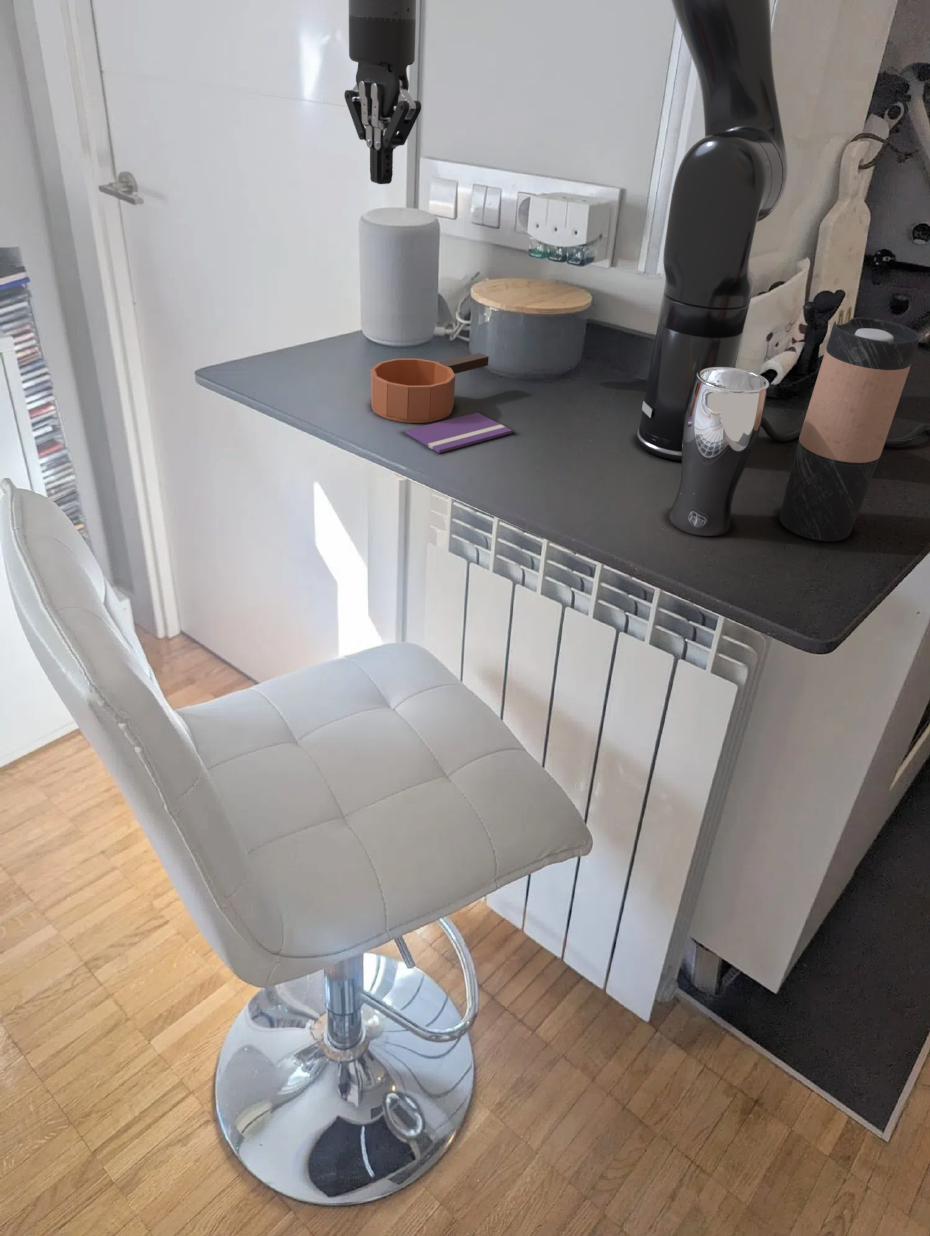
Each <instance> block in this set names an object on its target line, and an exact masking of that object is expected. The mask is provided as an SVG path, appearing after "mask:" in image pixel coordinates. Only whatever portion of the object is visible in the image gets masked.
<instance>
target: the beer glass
mask: <svg viewBox="0 0 930 1236" xmlns="http://www.w3.org/2000/svg"><path fill="white" fill-rule="evenodd" d="M769 387H770V382H769V380H768V379H766V378H765V376H762V375H760V374H758V373H756V372H754V371H750V370H747V369H744V368H740V367H739V368H738V367H736V368H733V367H707V368H703V369H701V370H699V371H698V373H697V377H696V381H695V384H694V387H693V390H692V394H691V397H690V401H689V404H688V408H687V412H686V417H685V423H684V429H683V441H682V461H681V472H680V473H681V474H680V482H679V486H678V487H679V488H678V491H677V494H676V497H675V499H674V502H673V504H672V506H671V509H670V512H669V515H668V516H669V517H668V518H669V521H670V523H671V524H672V525H673V526H674V527H675V528H677V529H679V530H680V531H682V532H685V533H686V534H691V535H695V536H699V537H715V536H716V537H718V536H720V535H723V534H725V533H726V532H727V533H728V531H729V530H730V528H731V521H732V505H733V499H734V496H735V492H736V489H737V486H738V484H739V482H740V479H741V477H742V476H743V473H744V471H745V469H746V466H747V465H748V462H749V461H750V458H751V456H752V453H753V451H754V448H755V446H756V443H757V440H758V437H759V434H760V431H761V428H762V427H761V423H762V418H763V417H764V414H765V413H764V412H765V409H766V402H767V396H768V390H769Z"/></svg>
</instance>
